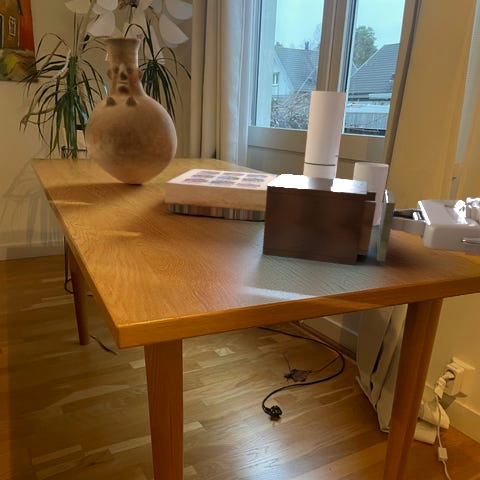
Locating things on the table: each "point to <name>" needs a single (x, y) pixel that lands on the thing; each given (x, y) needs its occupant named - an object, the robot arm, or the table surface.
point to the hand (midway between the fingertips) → (390, 218)
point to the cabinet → (314, 218)
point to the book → (219, 193)
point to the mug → (373, 181)
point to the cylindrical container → (324, 134)
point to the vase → (129, 122)
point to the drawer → (384, 223)
